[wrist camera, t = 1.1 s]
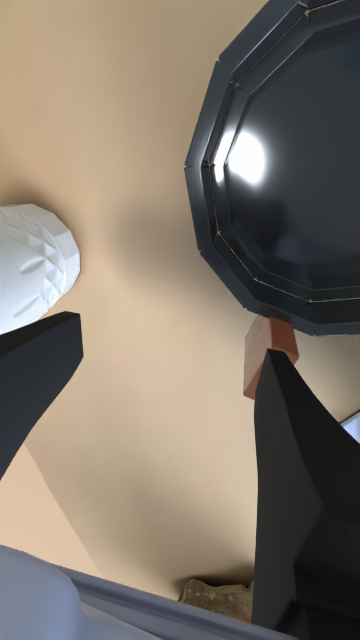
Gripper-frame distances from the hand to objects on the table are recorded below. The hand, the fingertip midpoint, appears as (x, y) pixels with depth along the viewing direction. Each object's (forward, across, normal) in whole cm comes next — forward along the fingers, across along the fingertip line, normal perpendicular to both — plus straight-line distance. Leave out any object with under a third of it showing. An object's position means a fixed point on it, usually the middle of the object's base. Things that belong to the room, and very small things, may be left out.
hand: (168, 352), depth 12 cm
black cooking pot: (+9, -6, -5) cm, 12 cm away
